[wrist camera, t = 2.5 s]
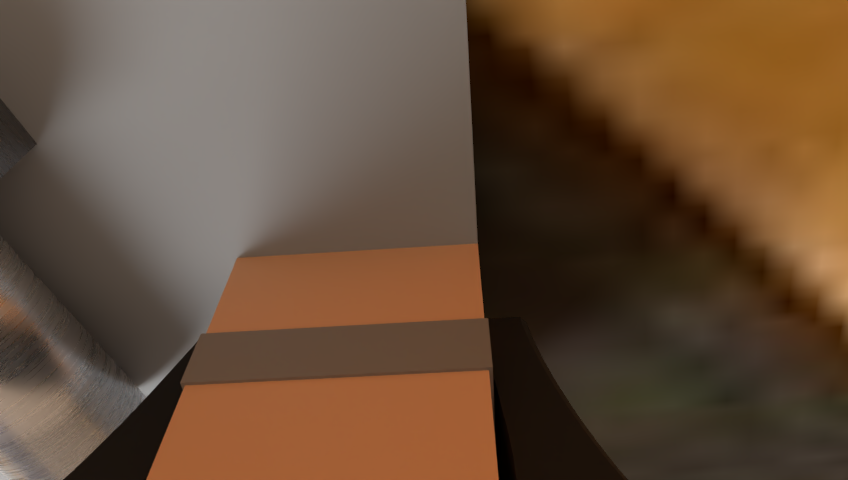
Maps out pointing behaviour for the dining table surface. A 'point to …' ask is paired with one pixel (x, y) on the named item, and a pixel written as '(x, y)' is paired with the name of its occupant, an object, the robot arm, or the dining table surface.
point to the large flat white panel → (225, 149)
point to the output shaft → (49, 364)
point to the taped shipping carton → (340, 372)
